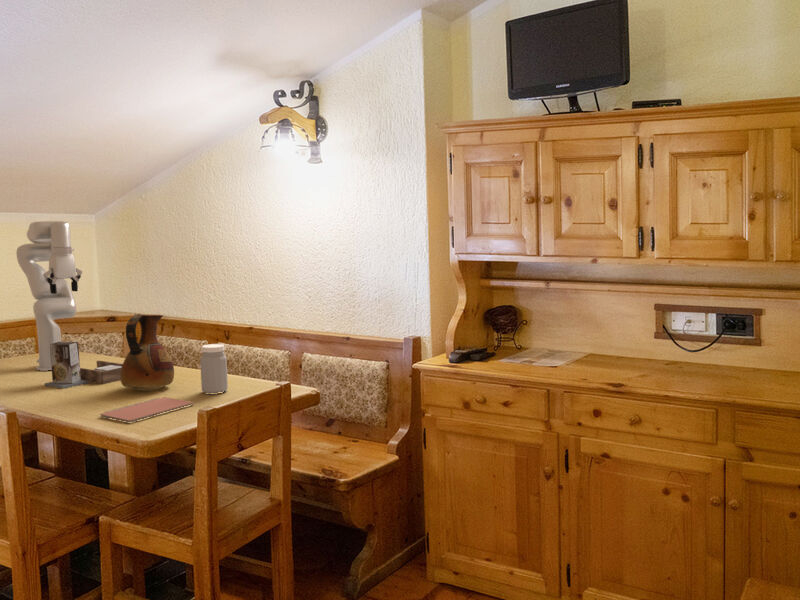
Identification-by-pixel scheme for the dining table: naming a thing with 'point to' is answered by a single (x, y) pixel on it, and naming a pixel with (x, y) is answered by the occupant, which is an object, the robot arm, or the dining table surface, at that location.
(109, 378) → the tray
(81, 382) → the slate mat
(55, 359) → the coffee box
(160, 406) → the notebook
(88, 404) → the dining table surface
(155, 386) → the ceramic pitcher
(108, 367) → the grey offcut
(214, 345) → the jar
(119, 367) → the grey offcut
